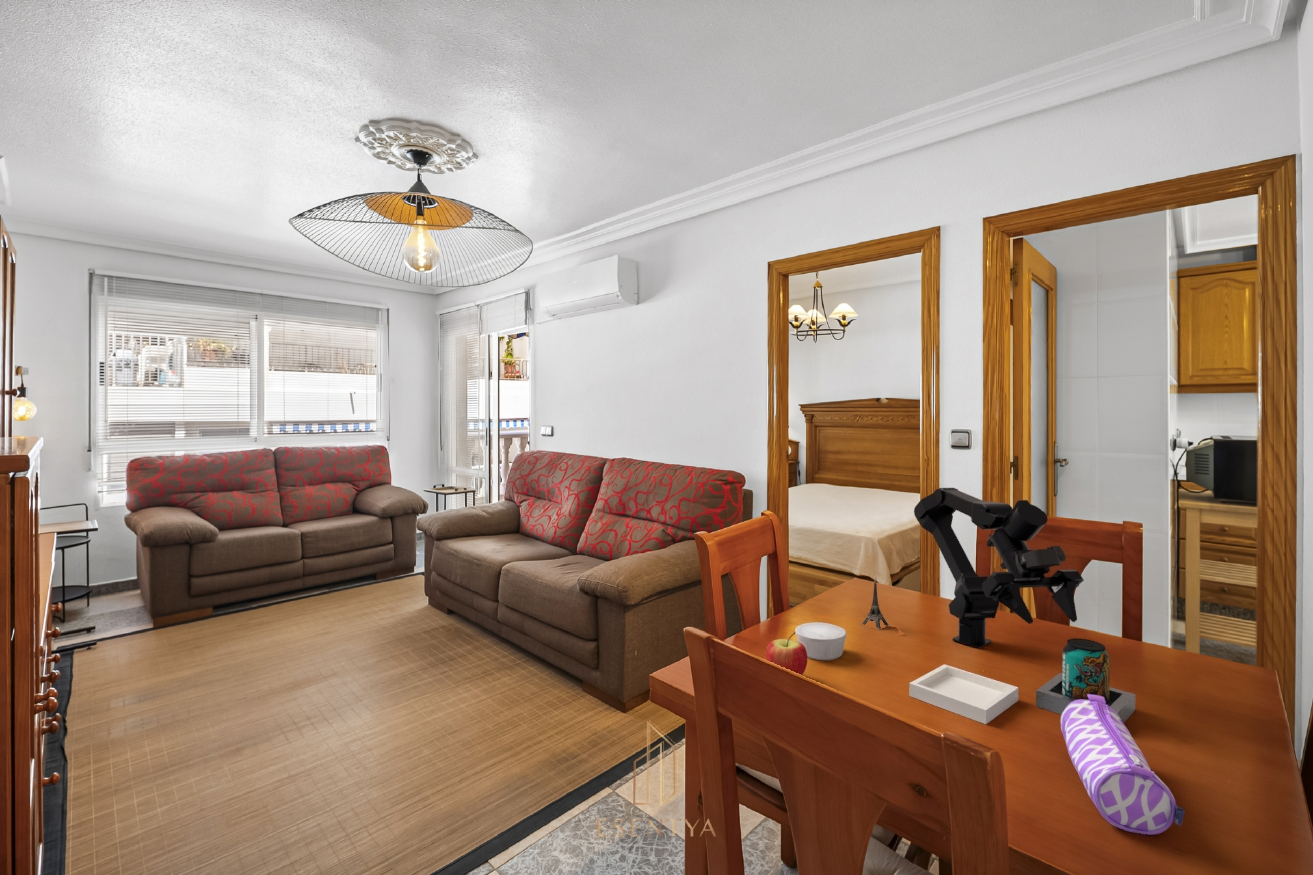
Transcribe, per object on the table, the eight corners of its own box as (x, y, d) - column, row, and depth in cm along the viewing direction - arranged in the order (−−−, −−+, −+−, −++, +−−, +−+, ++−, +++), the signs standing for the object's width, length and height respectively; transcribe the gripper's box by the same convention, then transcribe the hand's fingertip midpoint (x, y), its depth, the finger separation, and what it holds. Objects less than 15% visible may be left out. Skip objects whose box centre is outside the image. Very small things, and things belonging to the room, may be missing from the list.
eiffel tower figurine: (907, 638, 148) (908, 584, 148) (865, 637, 149) (865, 583, 148) (887, 618, 163) (888, 569, 163) (849, 617, 164) (849, 568, 163)
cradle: (944, 676, 125) (944, 664, 125) (1018, 700, 114) (1018, 687, 114) (909, 695, 116) (909, 683, 116) (985, 724, 105) (985, 710, 105)
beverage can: (1103, 721, 106) (1104, 654, 106) (1057, 707, 111) (1057, 643, 111) (1113, 709, 111) (1114, 644, 110) (1068, 696, 116) (1069, 634, 115)
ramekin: (791, 658, 135) (791, 635, 135) (799, 641, 145) (799, 619, 145) (844, 665, 131) (844, 641, 131) (848, 647, 141) (848, 625, 141)
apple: (800, 691, 119) (800, 640, 118) (759, 681, 123) (759, 633, 123) (813, 676, 126) (813, 628, 125) (774, 667, 130) (774, 621, 130)
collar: (1059, 687, 119) (1059, 672, 119) (1135, 710, 110) (1135, 694, 110) (1035, 706, 112) (1036, 690, 112) (1115, 732, 102) (1115, 714, 102)
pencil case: (1185, 850, 75) (1187, 775, 74) (1096, 833, 78) (1097, 761, 78) (1120, 756, 95) (1121, 697, 95) (1051, 745, 99) (1052, 688, 98)
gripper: (991, 532, 122) (1029, 603, 111) (1077, 530, 124) (1122, 599, 113) (967, 562, 130) (1001, 631, 119) (1048, 559, 132) (1088, 627, 121)
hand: (1053, 621), depth 118 cm, fingers open, 9 cm apart
